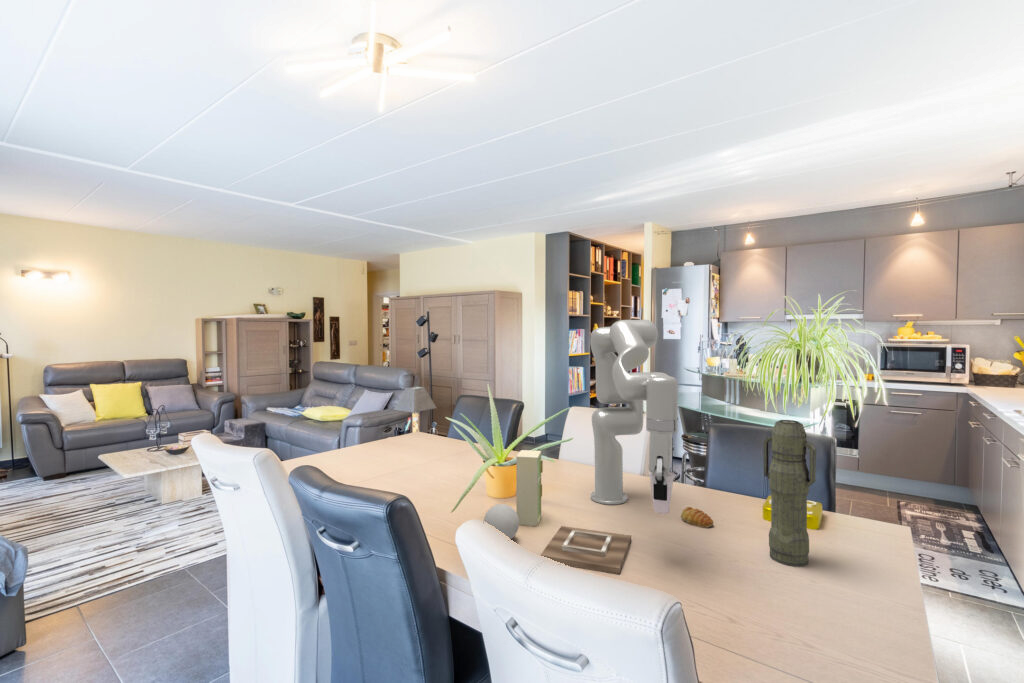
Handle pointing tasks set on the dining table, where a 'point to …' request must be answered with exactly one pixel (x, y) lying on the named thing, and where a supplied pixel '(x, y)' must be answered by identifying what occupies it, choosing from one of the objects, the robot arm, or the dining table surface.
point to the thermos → (789, 492)
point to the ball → (503, 519)
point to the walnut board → (588, 549)
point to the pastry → (696, 517)
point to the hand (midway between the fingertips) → (661, 494)
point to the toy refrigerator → (529, 487)
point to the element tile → (812, 513)
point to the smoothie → (662, 505)
